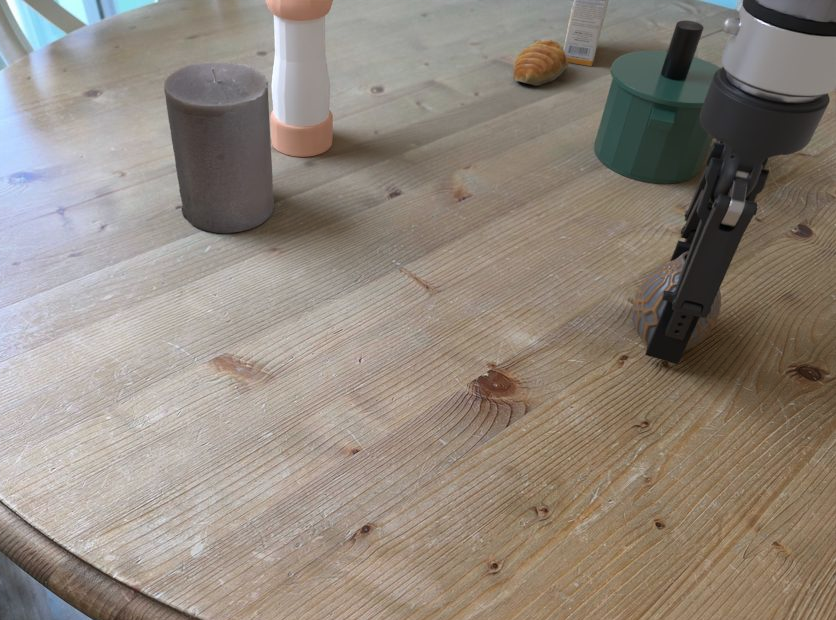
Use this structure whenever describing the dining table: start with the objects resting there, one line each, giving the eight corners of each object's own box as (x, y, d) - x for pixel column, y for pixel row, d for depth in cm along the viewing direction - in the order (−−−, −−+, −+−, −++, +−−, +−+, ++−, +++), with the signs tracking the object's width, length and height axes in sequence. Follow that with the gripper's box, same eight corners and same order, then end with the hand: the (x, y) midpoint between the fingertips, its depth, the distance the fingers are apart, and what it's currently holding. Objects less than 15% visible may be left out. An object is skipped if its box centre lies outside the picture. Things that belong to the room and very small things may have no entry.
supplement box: (565, 41, 116) (585, -52, 106) (596, 46, 115) (620, -47, 106) (559, 62, 110) (580, -34, 101) (592, 67, 109) (616, -29, 100)
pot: (704, 134, 96) (732, 61, 89) (695, 205, 83) (727, 126, 77) (605, 113, 98) (625, 41, 92) (582, 179, 86) (603, 101, 80)
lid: (734, 74, 88) (757, 15, 83) (730, 124, 79) (756, 61, 74) (617, 52, 91) (633, -6, 86) (600, 97, 82) (617, 35, 77)
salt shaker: (281, 123, 93) (274, -44, 79) (338, 131, 92) (341, -37, 79) (263, 152, 88) (253, -22, 74) (324, 161, 87) (324, -14, 73)
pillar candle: (164, 220, 77) (138, 78, 66) (212, 174, 84) (196, 39, 73) (248, 244, 75) (235, 101, 64) (291, 195, 81) (286, 59, 71)
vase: (701, 373, 64) (741, 294, 58) (620, 352, 66) (650, 273, 60) (702, 322, 69) (739, 245, 63) (627, 304, 70) (655, 227, 64)
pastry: (545, 94, 102) (551, 66, 99) (499, 81, 104) (504, 54, 102) (568, 70, 108) (574, 43, 105) (525, 59, 110) (529, 32, 108)
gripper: (722, 19, 58) (636, 256, 74) (708, 131, 45) (607, 392, 61) (825, 37, 57) (715, 276, 72) (844, 159, 43) (703, 420, 59)
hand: (666, 328), depth 67 cm, fingers closed on vase, 7 cm apart
